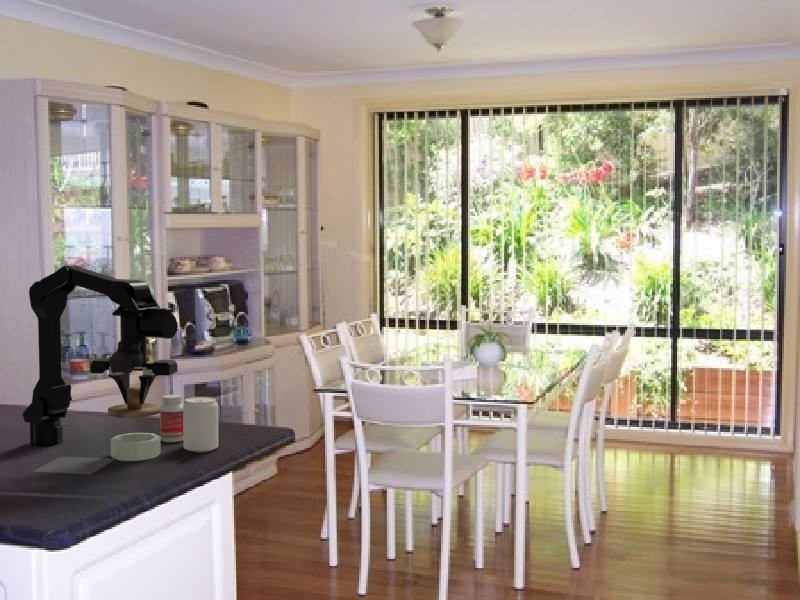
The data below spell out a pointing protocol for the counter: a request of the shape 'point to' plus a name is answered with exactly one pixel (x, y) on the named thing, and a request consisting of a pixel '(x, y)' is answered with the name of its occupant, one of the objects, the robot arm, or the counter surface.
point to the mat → (74, 465)
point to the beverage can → (200, 424)
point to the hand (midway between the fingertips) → (134, 404)
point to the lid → (134, 406)
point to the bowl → (135, 446)
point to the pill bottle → (171, 419)
